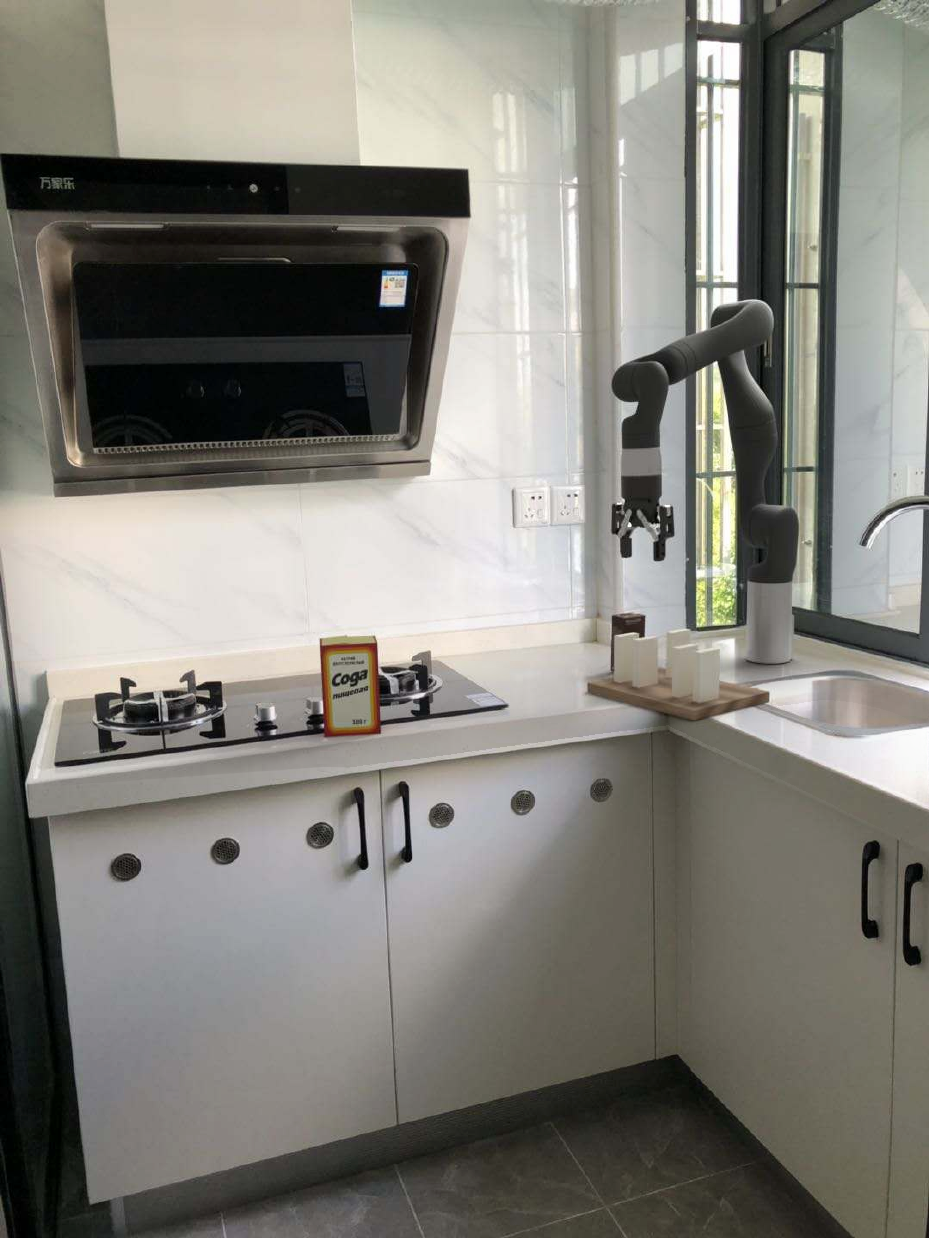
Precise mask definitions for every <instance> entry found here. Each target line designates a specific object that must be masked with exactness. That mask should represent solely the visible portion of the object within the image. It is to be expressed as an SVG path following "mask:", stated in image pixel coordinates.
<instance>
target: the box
mask: <svg viewBox="0 0 929 1238" xmlns="http://www.w3.org/2000/svg"><path fill="white" fill-rule="evenodd" d="M646 617H647V616H646V614H642V613H637V612H633V611H632V612H626V613H623V612H622V613H618V614H613V615H611V634H610V635H611V638H610V672H612V673H614V636H615V635H621V634H627V633H632V632H634V633H639V638H643V637H646Z"/></svg>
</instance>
